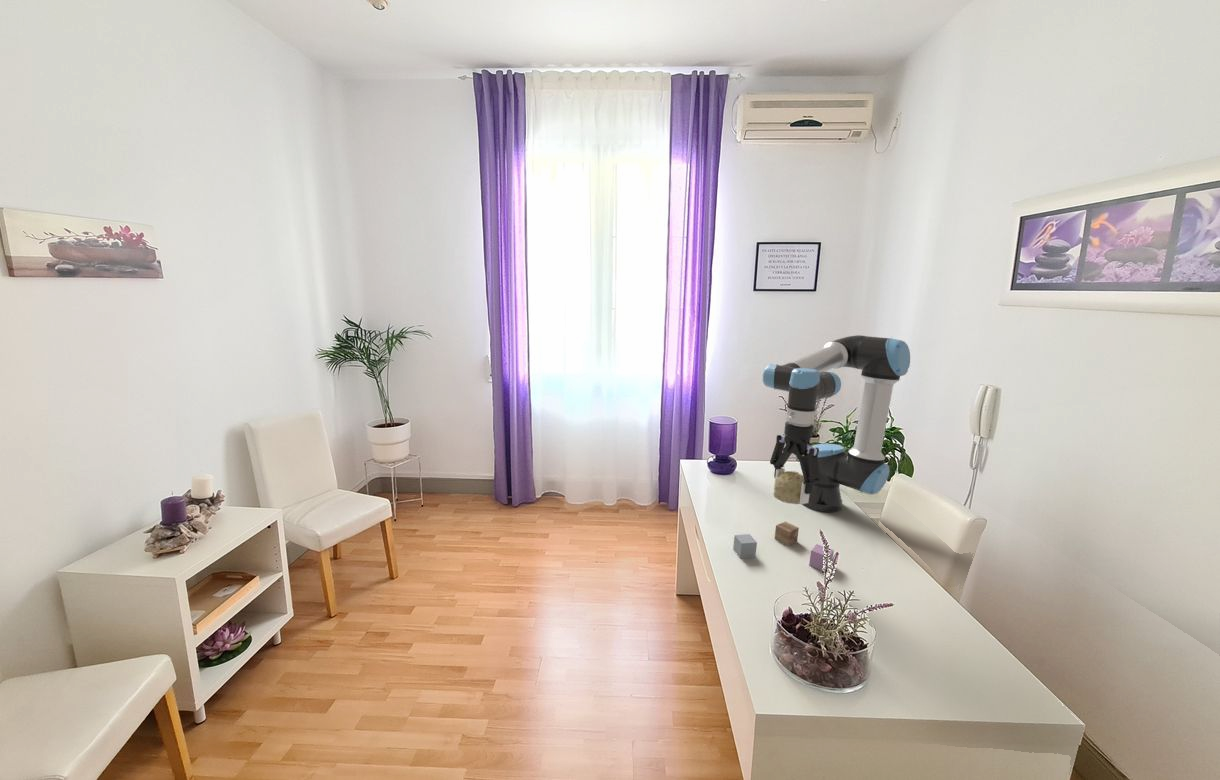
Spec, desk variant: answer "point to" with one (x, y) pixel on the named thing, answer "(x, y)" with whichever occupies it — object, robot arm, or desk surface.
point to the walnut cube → (786, 533)
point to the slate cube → (745, 546)
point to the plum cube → (818, 556)
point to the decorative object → (788, 487)
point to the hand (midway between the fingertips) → (790, 495)
